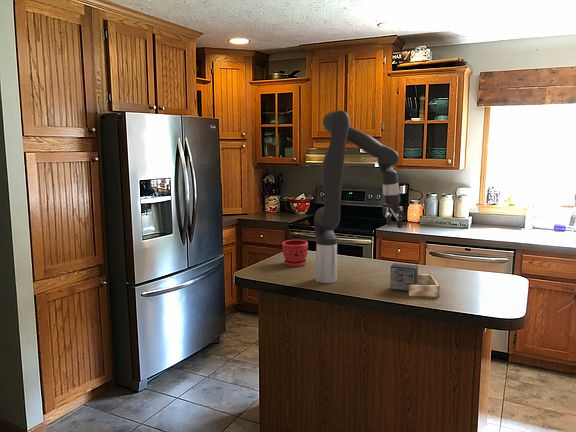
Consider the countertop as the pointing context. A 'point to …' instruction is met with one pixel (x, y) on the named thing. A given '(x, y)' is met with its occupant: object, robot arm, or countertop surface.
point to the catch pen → (425, 286)
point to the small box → (403, 276)
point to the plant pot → (295, 252)
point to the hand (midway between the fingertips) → (394, 226)
